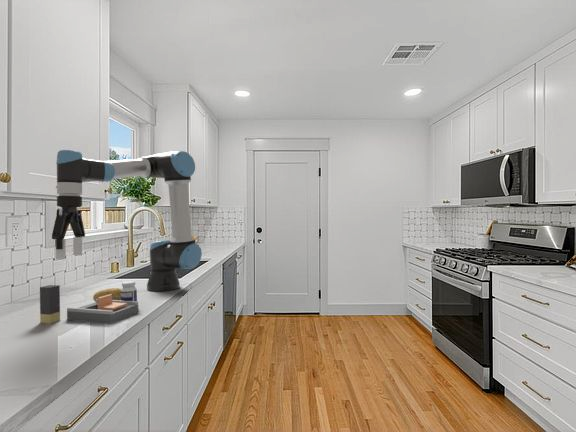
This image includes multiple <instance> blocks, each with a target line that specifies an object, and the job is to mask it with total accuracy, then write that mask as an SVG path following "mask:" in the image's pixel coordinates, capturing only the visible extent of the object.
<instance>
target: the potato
mask: <svg viewBox="0 0 576 432" xmlns="http://www.w3.org/2000/svg"><path fill="white" fill-rule="evenodd" d="M121 289H122V288H117V287H115V288H107V289H102V290H99V291H96V292H95V293H94V294H93V297H92V299H93V302H94V303H95V302H96V299H97V298H99V297H102V296H106V295H109V294H112V300H121Z"/></svg>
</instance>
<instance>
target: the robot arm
mask: <svg viewBox="0 0 576 432" xmlns="http://www.w3.org/2000/svg"><path fill="white" fill-rule="evenodd" d="M195 172H196V163H195V160H194V158H193V156H191V155H190V153H189V152H187V151H183V150H174V151H168V152H160V153H155V154H153V155H148V156H139V157H138V158H137V159H122V160H98V159H97V160H95V159H88V158H84V156H83V153H82V152H81V151H78V150H74V149H73V150H72V149H61V150H58V151H57V155H56V186H55V189H56V195H57V196H56V206H57V207H58V208H57V209H56V215H55V216H56V217H55V220H54V225H53V228H52V233H51V239H52V240H55V260H66V249H67V248H66V246H67V245H66V242H67V241H66V238H65V236H66V235H67V232H68V229H69V226H70V227H71V230H72V234H73V241H72V243H73V244H72V247H73V248H72V250H73V254H72V255H73V256H82V255H83V238H85V237H86V231H85V227H84V222H83V217H82V210H81V209H78V208H81V207H83V197H82V195H83V183H89V182H102V183H103V182H106V183H107V182H108V183H109V182H111V181H112V180H114V179H115V180H116V179H125V178H126V179H127V178H134V177H141V178H142V179H145V178H152V179H153V178H156V179H163V180H164V183H165V184H167V186H168V197H169V208H170V219H171V220H170V221H171V232H172V233H171V234H172V237H171V238H170V239H168V240H167V239H166V240H157V241H154V242H153V241H152V242H151V243H150V247H149V249H150V250H149V258H150V261H149V263H150V264H149V265H150V273H149V277H148V280H147V284H146V290H147V291H151V292H165V291H167V292H168V291H174V290H178V289H179V288H180V286H181V285H180V283H181V282H180V280H179V278H178V274H177V270H176V269H182V270H190V269H195V267H197V266H198V265H199V263H200V261H201V259H202V253H203V252H202V251H203V250H202V248H201V246H200V245H198V244H197V243H196V238H195V237H194V236H193V235H192V223H191V210H190V197H189V196H190V195H189V183H190V182H191V180H192V175H194V173H195Z"/></svg>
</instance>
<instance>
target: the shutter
mask: <svg viewBox="0 0 576 432" xmlns="http://www.w3.org/2000/svg"><path fill="white" fill-rule="evenodd" d="M97 305H98V309H100V310H116V309H119V308H121V307H124V306H127V303H116V302H112V294H109V295H106V296H102V297H99V298H97Z"/></svg>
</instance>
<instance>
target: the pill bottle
mask: <svg viewBox="0 0 576 432" xmlns="http://www.w3.org/2000/svg"><path fill="white" fill-rule="evenodd" d="M121 287H122V288H120V289H121V301H137V302H138V292H137V291H138V289H137V287H136V281H134V280H129V281H123V282H122V283H121Z"/></svg>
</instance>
